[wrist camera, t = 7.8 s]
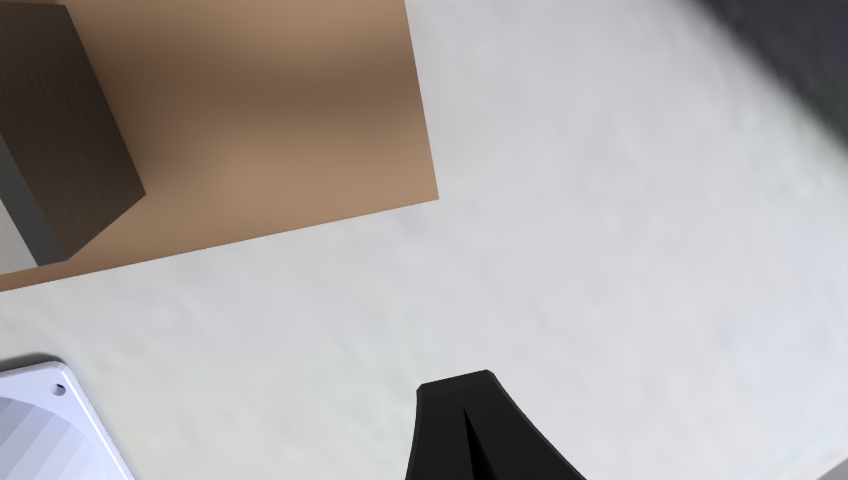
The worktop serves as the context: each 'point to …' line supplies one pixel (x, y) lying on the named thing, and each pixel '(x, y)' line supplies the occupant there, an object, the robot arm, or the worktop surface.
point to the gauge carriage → (54, 142)
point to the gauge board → (250, 120)
